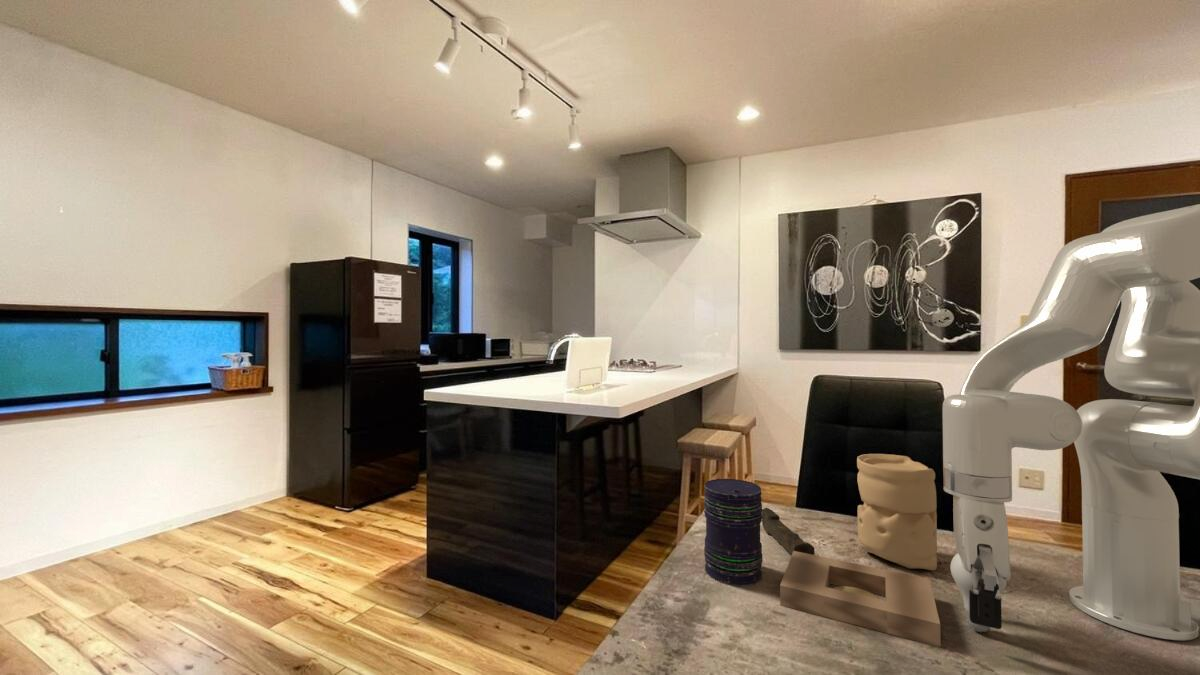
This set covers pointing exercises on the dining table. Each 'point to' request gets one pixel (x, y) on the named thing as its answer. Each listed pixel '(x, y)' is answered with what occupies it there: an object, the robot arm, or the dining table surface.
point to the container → (897, 510)
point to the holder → (862, 596)
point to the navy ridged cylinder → (733, 531)
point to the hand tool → (784, 533)
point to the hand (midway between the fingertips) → (978, 606)
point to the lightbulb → (969, 587)
